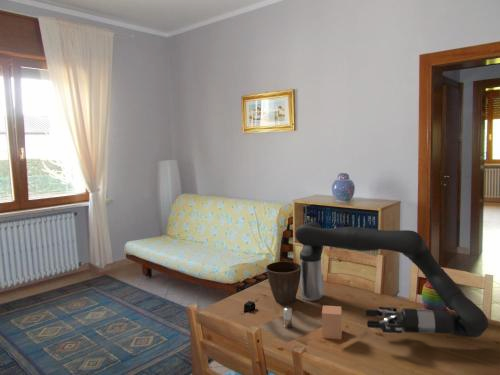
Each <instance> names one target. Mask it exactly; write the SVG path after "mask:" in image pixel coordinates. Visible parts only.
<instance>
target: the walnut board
mask: <svg viewBox="0 0 500 375" xmlns="http://www.w3.org/2000/svg"><path fill="white" fill-rule="evenodd" d="M257 327H259V328H260V329H262V330H264V331H266V332H267V333H269V334H270V335H272V336H274V337H275V338H277V339H278V340H281V341H282V342H285V343H289V342H291V341H294V340H297V339H298V338H300V337H302V336H305V335H307V334H309V333H311V332H314V331H316V330H318V329H321V328H322V320H321V321H320V320H318V319H316V318H314V317H312V316H310V315H308V314H306V313H304V312H301V311H299V310H294V311H293V312H292V328H290V329H286V328H284V315H281V316H279V317H277V318H274V319H272V320H269V321H267V322H264V323H262V324H259V325H257Z"/></svg>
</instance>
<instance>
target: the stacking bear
mask: <svg viewBox="0 0 500 375" xmlns="http://www.w3.org/2000/svg"><path fill="white" fill-rule="evenodd" d="M441 268H442V267H441ZM442 269H443V270H444V271H445V269H444V268H442ZM425 279H426V281H425V283H424V284H423V287H422V291H421V300H422V304H423V305H422V307H421V309H427V310H437V311H448V312H450V313H451V314H452V312H451V310H450V309H448V308H447V306H446V305H445V304H444V303H443V301H442V300H441V299H440V297H439V296H438V295H437V293H436V292H435V291H434V289H433V288H432V286H431V285H430V283H429V281H428V280H427V278H426V277H425ZM452 315H453V314H452Z"/></svg>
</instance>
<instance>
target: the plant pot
mask: <svg viewBox="0 0 500 375" xmlns="http://www.w3.org/2000/svg"><path fill="white" fill-rule="evenodd" d="M265 270H266V276H267V280H268V283H269V287H270V291H271V293H272V296H273V298H274V301H275V303H278V304H280V305H289V304H292V303H294V302H295V300H296V297H297V294H298V291H299V286H300V282H301V279H300V275H301V265H300V263H297V262H293V261H285V260H283V261H276V262H272V263H269V264H267V265H266V267H265Z"/></svg>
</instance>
